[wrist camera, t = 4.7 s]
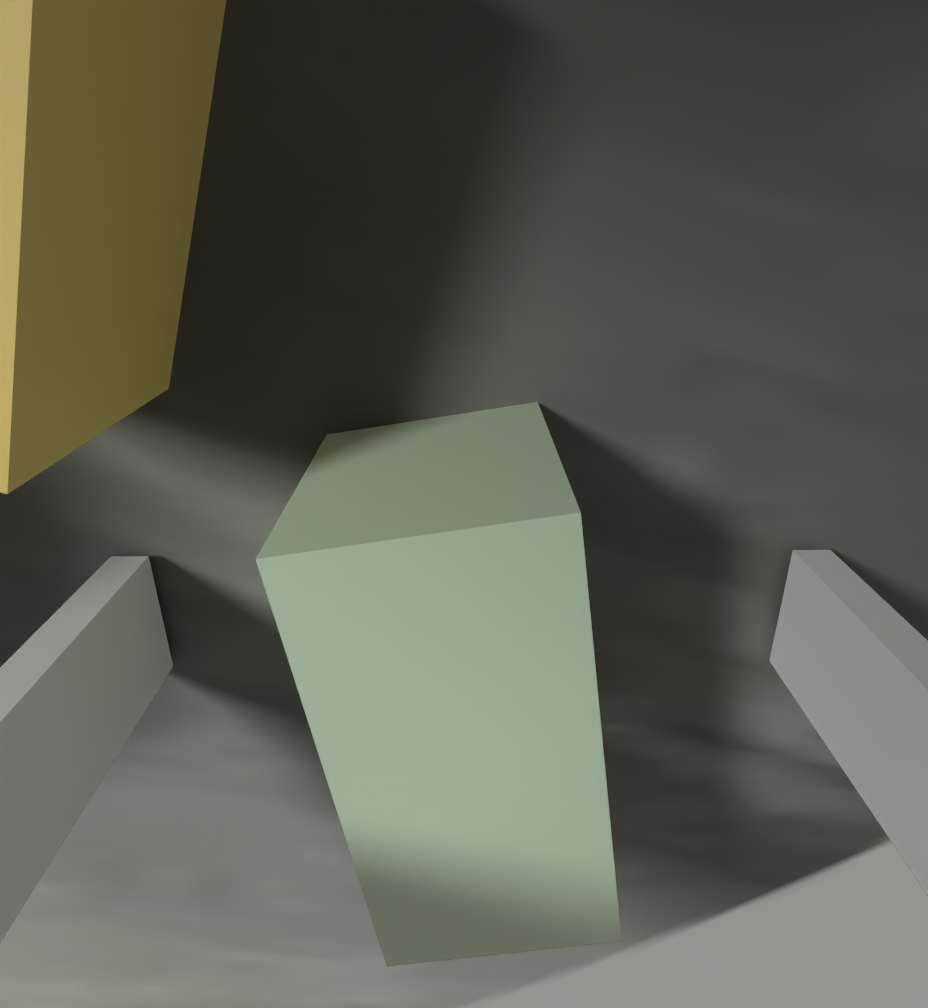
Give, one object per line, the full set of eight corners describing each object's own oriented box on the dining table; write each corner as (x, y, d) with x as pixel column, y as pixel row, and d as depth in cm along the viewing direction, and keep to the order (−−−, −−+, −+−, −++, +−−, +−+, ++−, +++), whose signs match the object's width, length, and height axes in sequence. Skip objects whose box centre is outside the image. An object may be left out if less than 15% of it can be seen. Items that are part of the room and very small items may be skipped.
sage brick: (574, 728, 16) (621, 941, 11) (407, 749, 16) (386, 966, 12) (537, 400, 13) (581, 513, 8) (327, 432, 13) (256, 559, 8)
